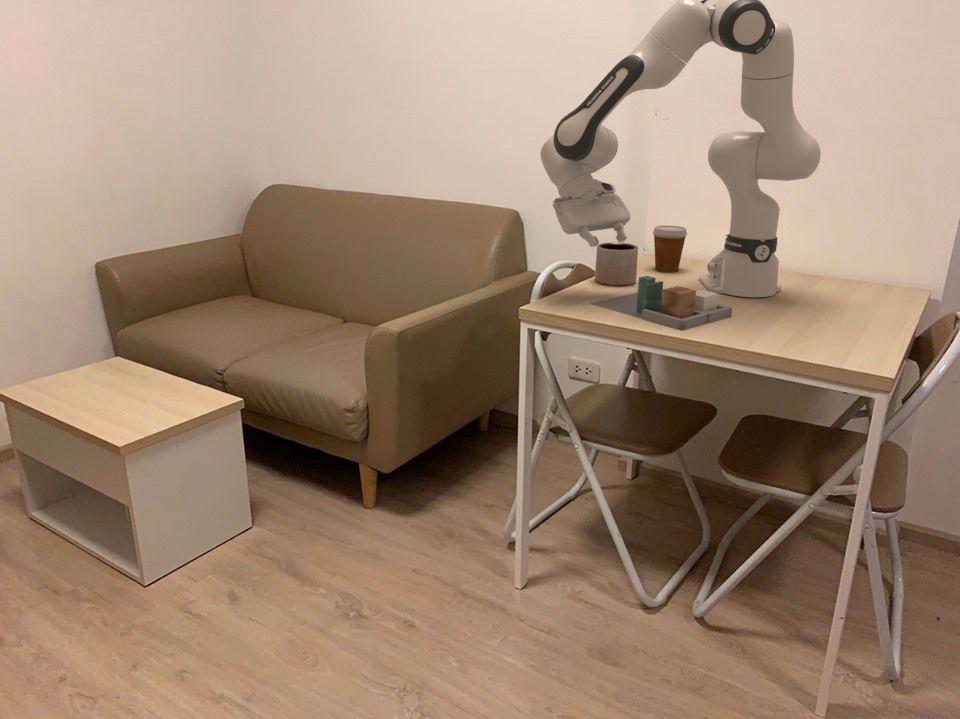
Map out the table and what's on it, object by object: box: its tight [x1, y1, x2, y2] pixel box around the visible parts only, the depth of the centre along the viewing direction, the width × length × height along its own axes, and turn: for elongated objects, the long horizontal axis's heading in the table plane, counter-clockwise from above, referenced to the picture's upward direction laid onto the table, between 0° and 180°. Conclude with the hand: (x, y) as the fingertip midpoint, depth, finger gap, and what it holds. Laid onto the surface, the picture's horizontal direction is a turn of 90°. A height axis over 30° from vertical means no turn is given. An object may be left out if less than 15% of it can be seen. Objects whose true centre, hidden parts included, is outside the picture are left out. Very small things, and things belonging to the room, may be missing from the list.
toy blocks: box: [636, 275, 697, 319], centre depth 170 cm, size 13×6×8 cm, turn 38°
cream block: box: [694, 289, 719, 312], centre depth 172 cm, size 5×5×5 cm
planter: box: [594, 242, 639, 287], centre depth 203 cm, size 11×11×10 cm
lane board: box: [588, 292, 733, 331], centre depth 176 cm, size 27×18×2 cm, turn 38°
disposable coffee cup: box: [652, 225, 688, 273], centre depth 216 cm, size 10×10×12 cm
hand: (609, 242), depth 179 cm, fingers open, 8 cm apart
